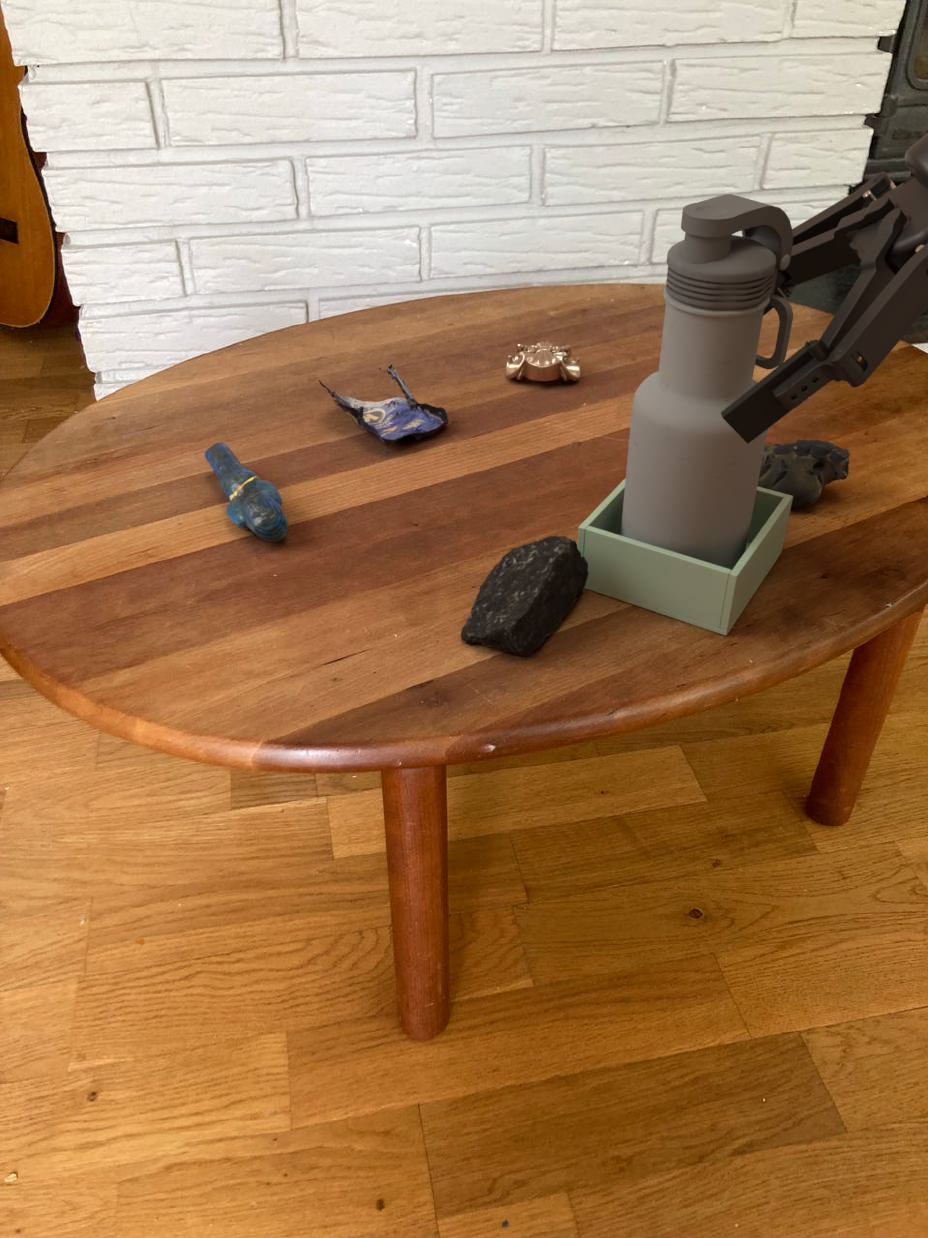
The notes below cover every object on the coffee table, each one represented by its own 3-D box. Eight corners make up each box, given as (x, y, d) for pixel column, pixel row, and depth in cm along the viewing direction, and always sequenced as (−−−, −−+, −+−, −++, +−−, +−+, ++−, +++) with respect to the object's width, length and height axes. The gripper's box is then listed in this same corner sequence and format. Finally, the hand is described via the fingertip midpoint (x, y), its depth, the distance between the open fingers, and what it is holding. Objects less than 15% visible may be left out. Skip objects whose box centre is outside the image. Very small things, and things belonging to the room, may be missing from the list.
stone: (685, 472, 96) (691, 420, 93) (833, 475, 95) (844, 422, 92) (691, 512, 91) (698, 458, 88) (848, 515, 90) (860, 461, 86)
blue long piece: (203, 481, 97) (261, 566, 87) (184, 451, 94) (242, 535, 85) (246, 455, 98) (309, 536, 88) (229, 424, 95) (292, 504, 85)
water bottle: (678, 516, 89) (723, 172, 72) (770, 566, 83) (843, 205, 66) (592, 560, 84) (619, 203, 67) (684, 617, 78) (738, 241, 61)
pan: (781, 553, 85) (793, 495, 82) (726, 636, 77) (737, 576, 74) (640, 511, 91) (646, 455, 87) (574, 585, 82) (578, 526, 79)
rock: (448, 642, 77) (446, 578, 73) (506, 570, 84) (507, 508, 81) (535, 669, 74) (537, 605, 71) (587, 592, 82) (592, 530, 78)
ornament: (580, 363, 115) (582, 331, 112) (579, 391, 109) (581, 358, 107) (508, 361, 116) (508, 329, 113) (503, 388, 110) (503, 356, 108)
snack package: (423, 392, 110) (315, 406, 107) (426, 338, 105) (312, 352, 102) (458, 461, 102) (342, 479, 99) (462, 407, 98) (340, 424, 95)
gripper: (899, 67, 72) (660, 282, 82) (1051, 165, 53) (713, 433, 62) (955, 148, 75) (718, 346, 85) (1118, 269, 56) (787, 508, 65)
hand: (716, 383), depth 74 cm, fingers open, 13 cm apart
